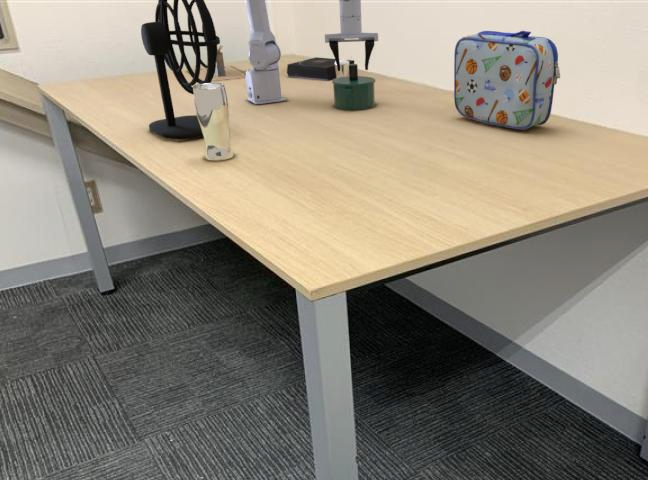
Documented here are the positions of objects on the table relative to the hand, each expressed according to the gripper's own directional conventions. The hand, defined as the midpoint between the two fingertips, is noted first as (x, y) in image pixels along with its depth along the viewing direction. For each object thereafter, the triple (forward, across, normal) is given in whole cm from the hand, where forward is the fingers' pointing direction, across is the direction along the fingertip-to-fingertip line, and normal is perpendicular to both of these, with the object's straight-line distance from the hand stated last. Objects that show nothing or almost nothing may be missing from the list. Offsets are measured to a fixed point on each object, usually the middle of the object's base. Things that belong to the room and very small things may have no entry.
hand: (352, 69), depth 187 cm
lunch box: (+9, +36, -30) cm, 48 cm away
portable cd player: (+9, -10, +48) cm, 50 cm away
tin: (+9, 0, -2) cm, 9 cm away
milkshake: (+9, -2, +19) cm, 22 cm away
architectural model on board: (+9, -46, +57) cm, 74 cm away
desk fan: (+9, -42, -24) cm, 49 cm away
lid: (+3, 0, -2) cm, 4 cm away
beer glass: (+9, -32, -49) cm, 59 cm away
